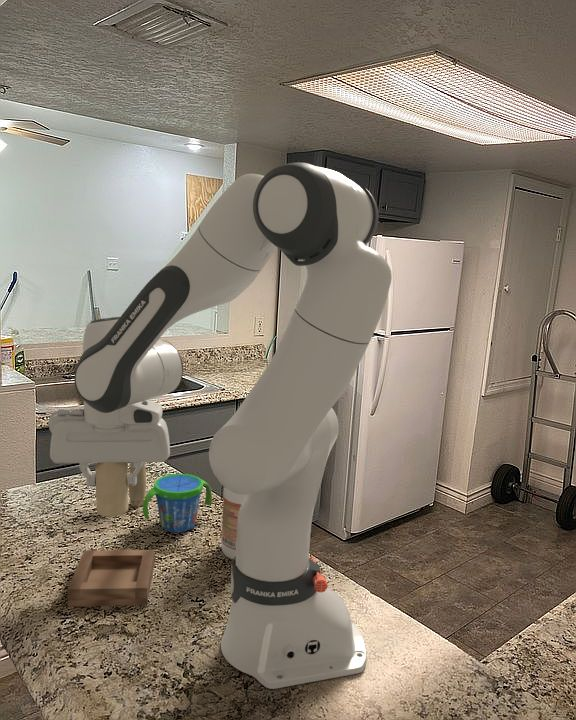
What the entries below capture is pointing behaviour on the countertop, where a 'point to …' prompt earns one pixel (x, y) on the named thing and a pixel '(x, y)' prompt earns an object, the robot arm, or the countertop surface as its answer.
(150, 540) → the countertop surface
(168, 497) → the snack cup
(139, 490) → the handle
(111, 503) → the candle
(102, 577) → the brown shallow square tray
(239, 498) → the fruit juice
